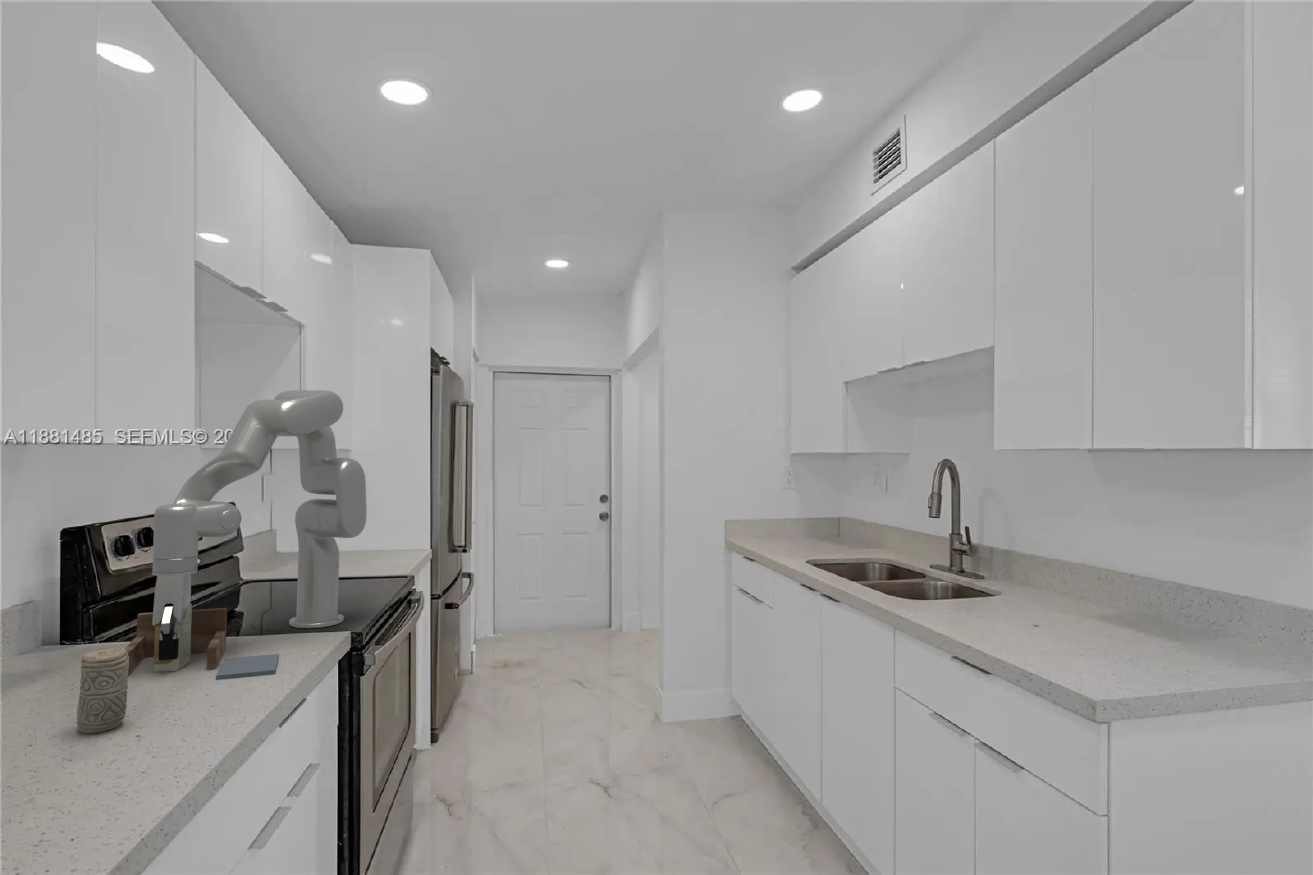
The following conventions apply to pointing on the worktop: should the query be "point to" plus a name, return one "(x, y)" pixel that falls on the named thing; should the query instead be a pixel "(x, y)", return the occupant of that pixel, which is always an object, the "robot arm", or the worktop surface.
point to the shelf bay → (204, 636)
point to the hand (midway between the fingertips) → (172, 653)
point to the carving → (103, 690)
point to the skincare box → (184, 645)
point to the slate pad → (247, 666)
